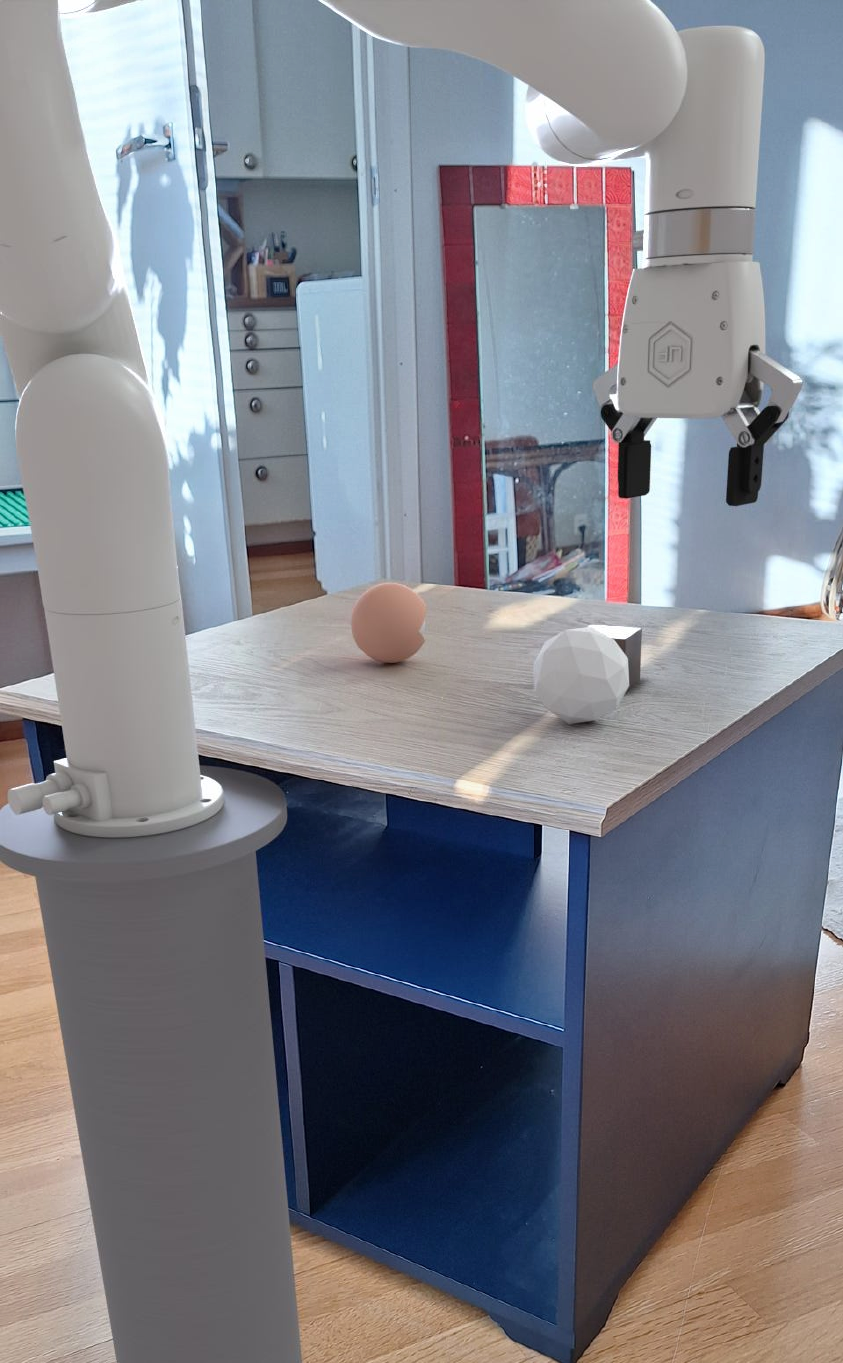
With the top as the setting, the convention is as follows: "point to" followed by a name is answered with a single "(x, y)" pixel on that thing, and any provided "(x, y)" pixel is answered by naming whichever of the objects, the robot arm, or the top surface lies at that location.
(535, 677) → the white faceted ball
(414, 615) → the toy ball
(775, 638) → the top surface
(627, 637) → the walnut block
